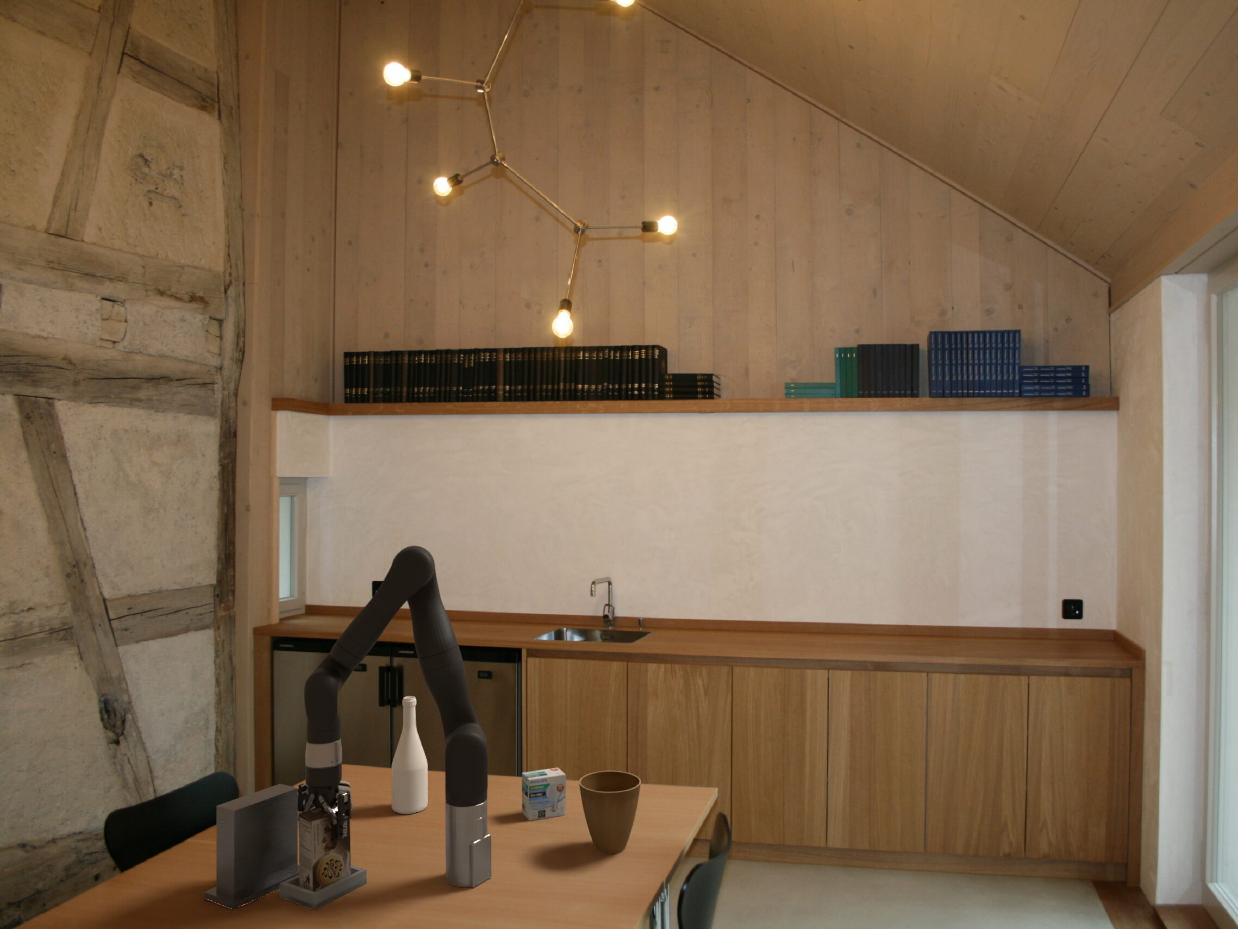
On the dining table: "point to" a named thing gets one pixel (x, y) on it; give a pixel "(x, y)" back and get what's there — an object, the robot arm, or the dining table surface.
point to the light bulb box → (543, 793)
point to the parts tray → (325, 895)
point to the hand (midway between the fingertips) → (323, 836)
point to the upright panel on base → (255, 845)
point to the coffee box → (322, 851)
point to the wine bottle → (409, 766)
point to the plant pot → (610, 807)
